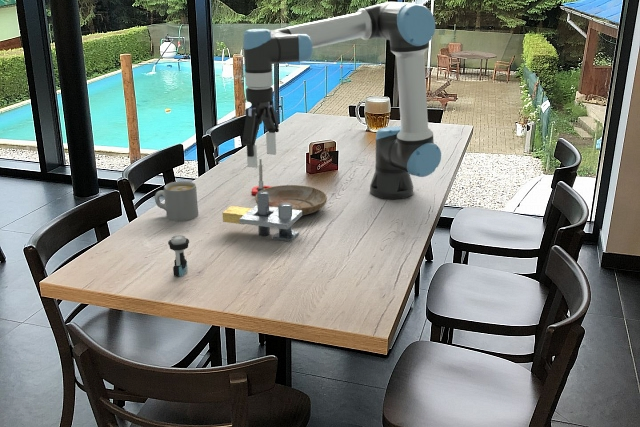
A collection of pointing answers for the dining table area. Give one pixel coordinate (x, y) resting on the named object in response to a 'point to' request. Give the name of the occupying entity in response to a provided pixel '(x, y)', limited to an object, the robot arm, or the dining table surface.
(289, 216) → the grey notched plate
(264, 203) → the pin
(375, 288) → the dining table surface
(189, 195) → the coffee mug
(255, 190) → the tow hook
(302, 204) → the ceramic bowl
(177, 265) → the push button
